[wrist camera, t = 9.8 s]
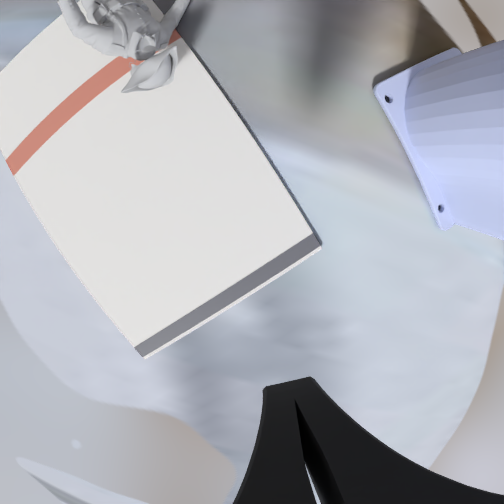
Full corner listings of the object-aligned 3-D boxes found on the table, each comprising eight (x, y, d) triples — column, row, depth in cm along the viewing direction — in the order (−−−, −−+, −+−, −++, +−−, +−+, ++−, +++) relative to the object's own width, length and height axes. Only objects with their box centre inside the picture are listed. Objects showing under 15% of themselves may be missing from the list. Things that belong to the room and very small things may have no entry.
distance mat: (321, 247, 17) (322, 248, 17) (145, 357, 18) (144, 359, 18) (127, -29, 12) (126, -31, 12) (-21, 99, 13) (-23, 98, 13)
